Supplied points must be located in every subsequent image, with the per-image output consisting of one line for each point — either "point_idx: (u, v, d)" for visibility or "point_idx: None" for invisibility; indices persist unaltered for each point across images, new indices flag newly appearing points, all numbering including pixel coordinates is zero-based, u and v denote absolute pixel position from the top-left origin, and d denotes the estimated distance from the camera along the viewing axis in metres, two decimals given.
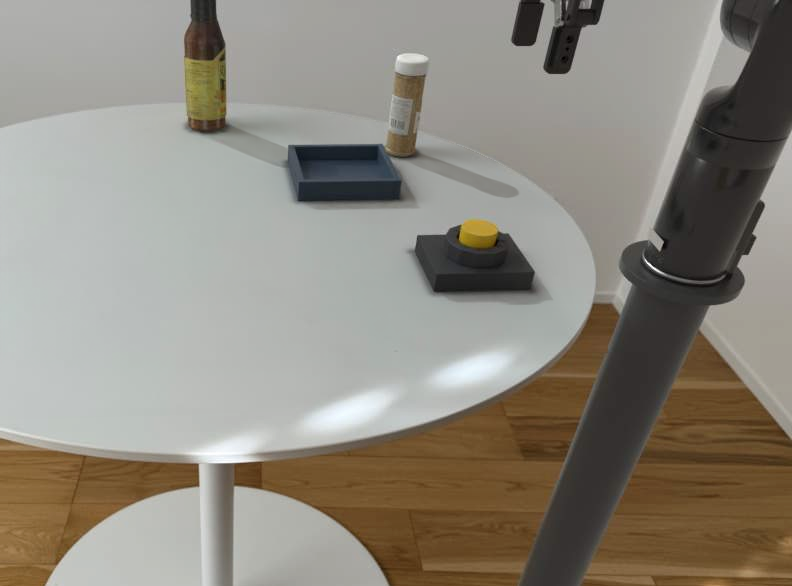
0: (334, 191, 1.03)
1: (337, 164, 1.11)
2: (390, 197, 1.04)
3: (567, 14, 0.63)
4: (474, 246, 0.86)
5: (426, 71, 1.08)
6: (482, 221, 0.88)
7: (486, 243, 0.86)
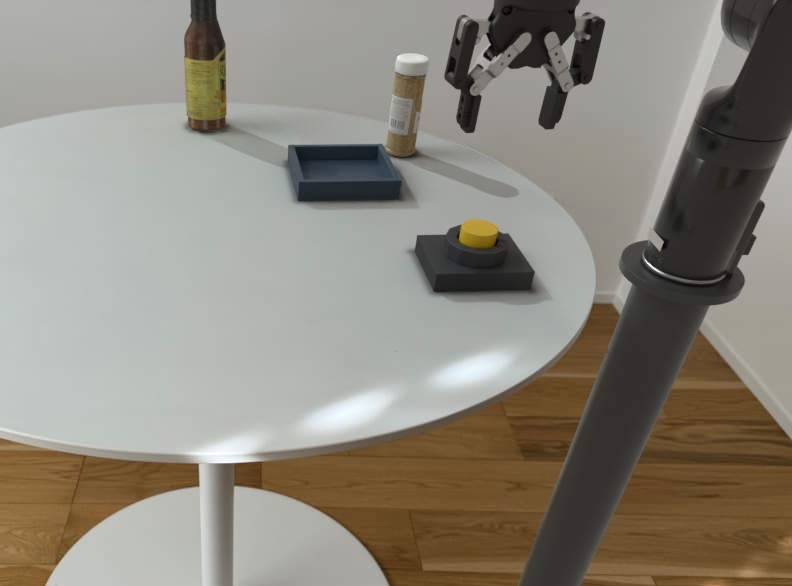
0: (334, 191, 1.03)
1: (337, 164, 1.11)
2: (390, 197, 1.04)
3: None
4: (474, 246, 0.86)
5: (426, 71, 1.08)
6: (482, 221, 0.88)
7: (486, 243, 0.86)
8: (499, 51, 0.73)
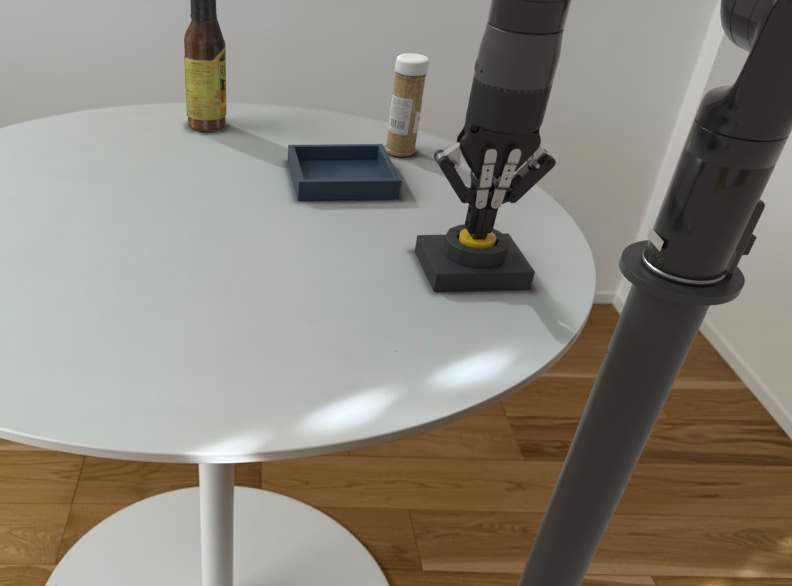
0: (334, 191, 1.03)
1: (337, 164, 1.11)
2: (390, 197, 1.04)
3: None
4: None
5: (426, 71, 1.08)
6: None
7: None
8: (469, 162, 0.81)
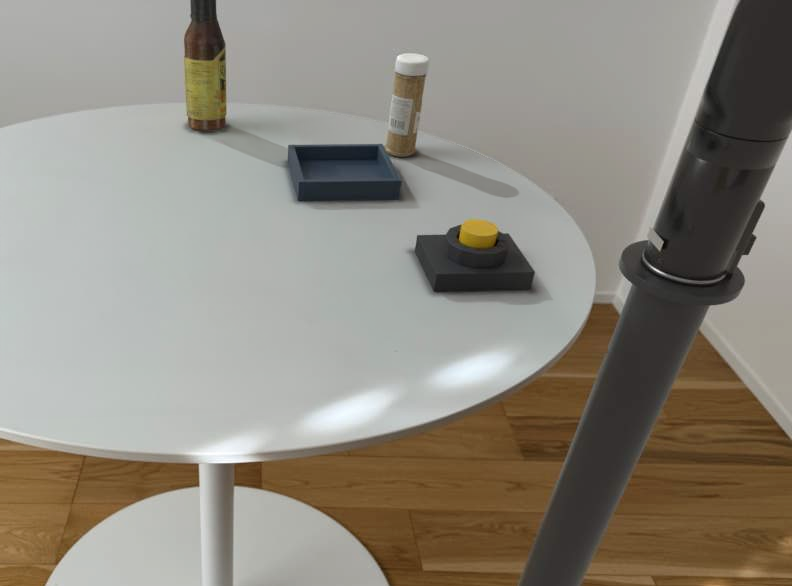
0: (334, 191, 1.03)
1: (337, 164, 1.11)
2: (390, 197, 1.04)
3: None
4: (474, 246, 0.86)
5: (426, 71, 1.08)
6: (482, 221, 0.88)
7: (486, 243, 0.86)
8: None
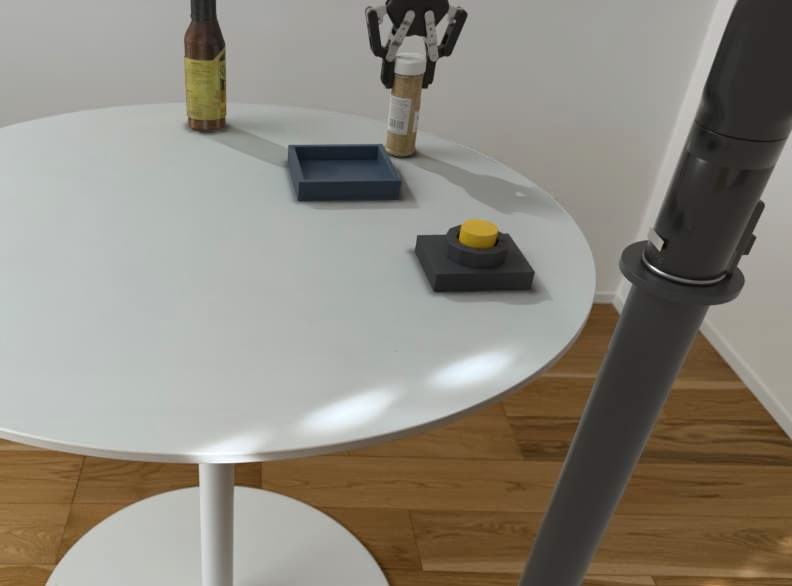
0: (334, 191, 1.03)
1: (337, 164, 1.11)
2: (390, 197, 1.04)
3: None
4: (474, 246, 0.86)
5: (424, 70, 1.08)
6: (482, 221, 0.88)
7: (486, 243, 0.86)
8: (394, 23, 1.05)
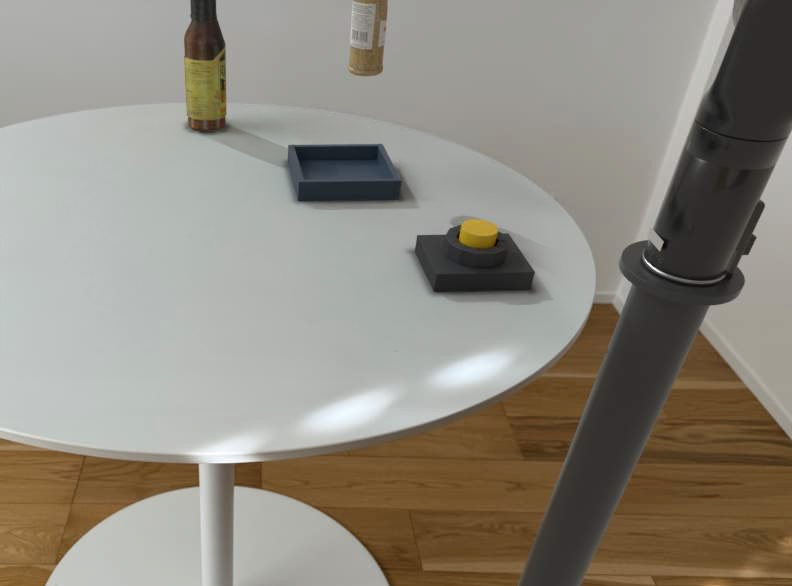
0: (334, 191, 1.03)
1: (337, 164, 1.11)
2: (390, 197, 1.04)
3: None
4: (474, 246, 0.86)
5: None
6: (482, 221, 0.88)
7: (486, 243, 0.86)
8: None
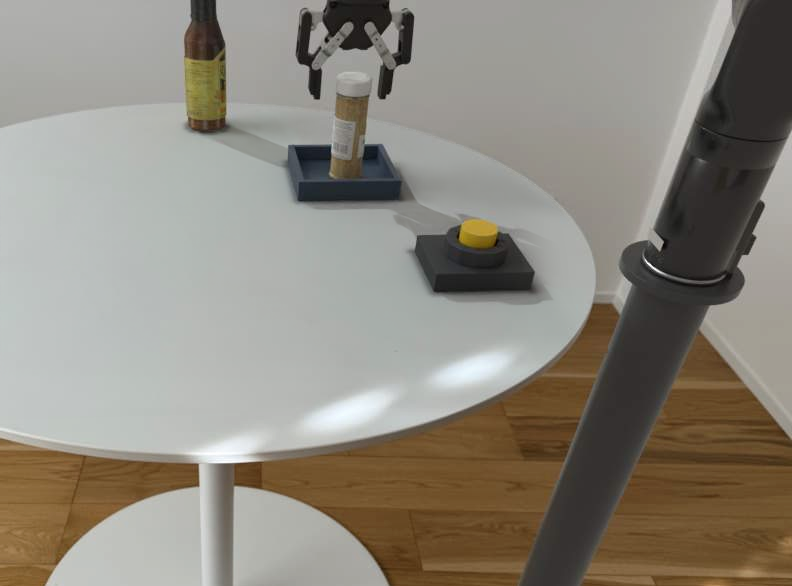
0: (334, 191, 1.03)
1: None
2: (390, 197, 1.04)
3: None
4: (474, 246, 0.86)
5: (369, 91, 0.99)
6: (482, 221, 0.88)
7: (486, 243, 0.86)
8: (332, 36, 0.96)
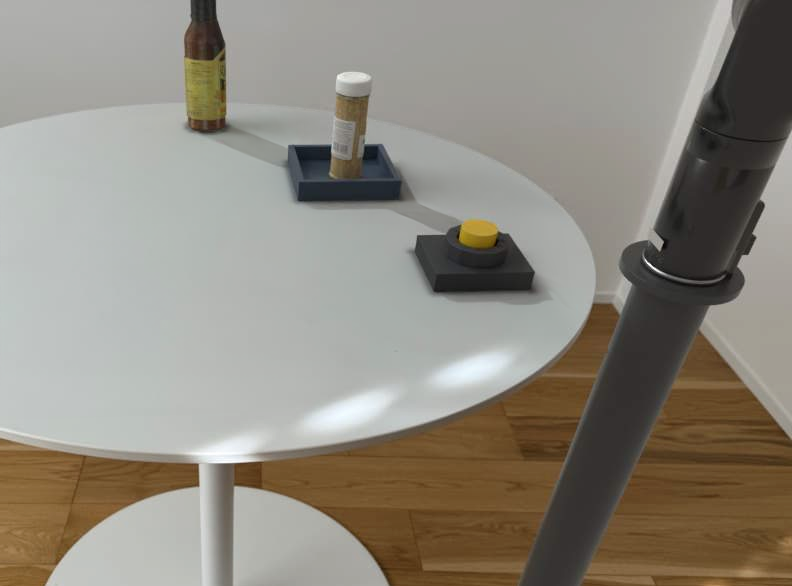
0: (334, 191, 1.03)
1: None
2: (390, 197, 1.04)
3: None
4: (474, 246, 0.86)
5: (369, 91, 0.99)
6: (482, 221, 0.88)
7: (486, 243, 0.86)
8: None
